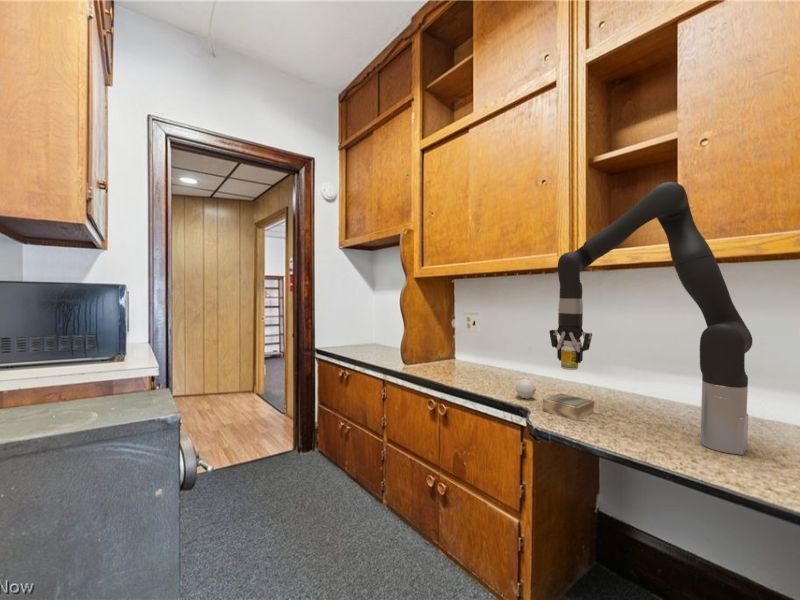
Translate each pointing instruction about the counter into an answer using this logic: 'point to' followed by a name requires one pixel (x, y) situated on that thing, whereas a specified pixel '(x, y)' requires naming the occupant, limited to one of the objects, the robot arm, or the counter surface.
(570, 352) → the supplement bottle
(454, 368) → the counter surface
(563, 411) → the oak riser
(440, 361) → the counter surface
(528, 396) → the white egg shape
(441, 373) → the counter surface
